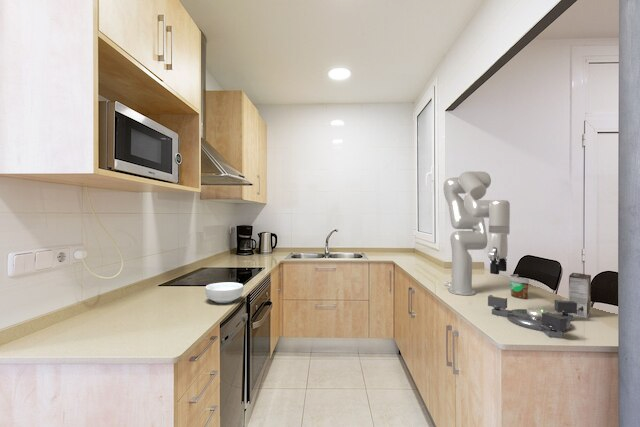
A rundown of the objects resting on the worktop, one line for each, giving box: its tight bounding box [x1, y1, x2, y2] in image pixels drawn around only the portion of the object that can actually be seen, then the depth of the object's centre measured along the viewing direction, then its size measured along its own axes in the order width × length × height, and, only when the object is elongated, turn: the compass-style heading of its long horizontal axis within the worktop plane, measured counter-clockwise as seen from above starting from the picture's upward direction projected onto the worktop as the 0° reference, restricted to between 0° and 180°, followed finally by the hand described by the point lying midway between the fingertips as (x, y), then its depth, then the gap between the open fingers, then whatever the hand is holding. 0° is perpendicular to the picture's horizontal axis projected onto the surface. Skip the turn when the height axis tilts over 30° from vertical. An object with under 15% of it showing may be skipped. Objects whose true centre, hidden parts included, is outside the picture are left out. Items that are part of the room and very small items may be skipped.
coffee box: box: [568, 272, 592, 319], centre depth 137 cm, size 9×6×16 cm
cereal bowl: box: [204, 281, 244, 304], centre depth 151 cm, size 17×17×7 cm
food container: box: [508, 273, 530, 300], centre depth 164 cm, size 12×6×10 cm, turn 172°
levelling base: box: [491, 299, 577, 339], centre depth 128 cm, size 26×30×7 cm
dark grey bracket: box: [487, 294, 508, 310], centre depth 136 cm, size 6×4×4 cm
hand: (498, 272), depth 136 cm, fingers open, 9 cm apart
